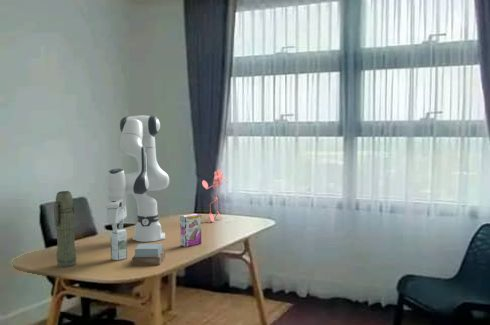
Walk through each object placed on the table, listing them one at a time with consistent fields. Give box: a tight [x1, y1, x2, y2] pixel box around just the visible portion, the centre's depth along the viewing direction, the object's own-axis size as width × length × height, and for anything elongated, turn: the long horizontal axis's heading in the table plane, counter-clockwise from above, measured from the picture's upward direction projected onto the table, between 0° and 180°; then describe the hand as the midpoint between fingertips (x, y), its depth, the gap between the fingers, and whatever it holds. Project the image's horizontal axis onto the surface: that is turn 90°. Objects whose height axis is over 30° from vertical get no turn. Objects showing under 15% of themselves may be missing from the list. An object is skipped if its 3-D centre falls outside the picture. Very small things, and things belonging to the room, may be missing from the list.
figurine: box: [201, 168, 229, 224], centre depth 365 cm, size 15×26×35 cm, turn 152°
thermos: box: [53, 190, 78, 268], centre depth 260 cm, size 9×12×35 cm
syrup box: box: [109, 228, 128, 261], centre depth 270 cm, size 6×6×14 cm
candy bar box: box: [179, 213, 202, 248], centre depth 298 cm, size 11×5×16 cm, turn 135°
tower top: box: [134, 243, 164, 257], centre depth 264 cm, size 11×11×4 cm
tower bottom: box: [131, 250, 166, 266], centre depth 265 cm, size 13×13×4 cm
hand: (118, 230), depth 270 cm, fingers open, 8 cm apart
